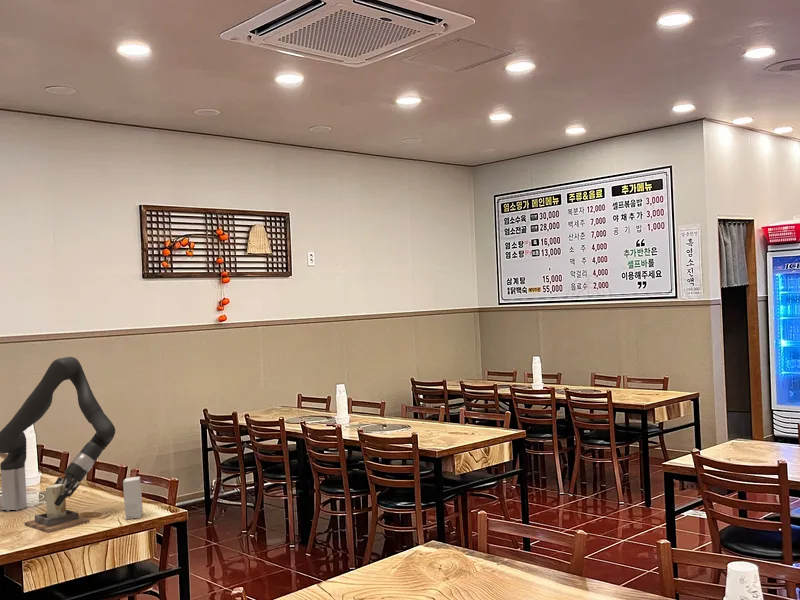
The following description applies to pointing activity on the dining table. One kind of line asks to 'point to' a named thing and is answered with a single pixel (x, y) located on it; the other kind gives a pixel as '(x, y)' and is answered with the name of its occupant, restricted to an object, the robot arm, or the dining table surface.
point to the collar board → (56, 521)
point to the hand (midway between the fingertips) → (52, 503)
